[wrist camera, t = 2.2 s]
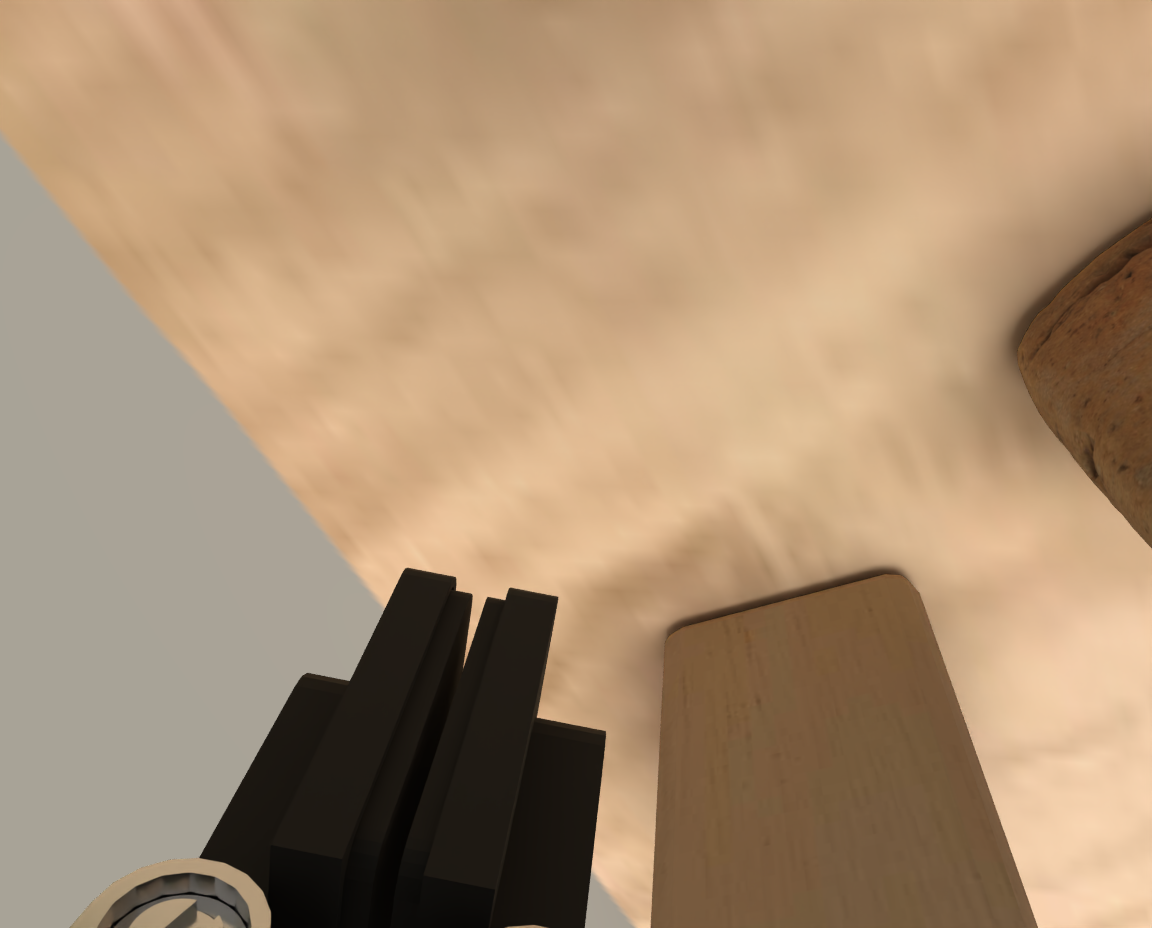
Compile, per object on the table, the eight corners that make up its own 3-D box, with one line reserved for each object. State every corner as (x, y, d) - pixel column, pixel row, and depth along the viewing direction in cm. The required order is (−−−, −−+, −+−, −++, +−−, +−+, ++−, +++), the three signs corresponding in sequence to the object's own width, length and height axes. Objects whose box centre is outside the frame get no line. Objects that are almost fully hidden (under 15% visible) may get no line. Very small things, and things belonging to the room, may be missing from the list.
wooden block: (733, 807, 45) (756, 1358, 27) (656, 623, 42) (624, 1118, 24) (968, 757, 43) (1161, 1325, 25) (907, 557, 39) (1084, 1052, 21)
